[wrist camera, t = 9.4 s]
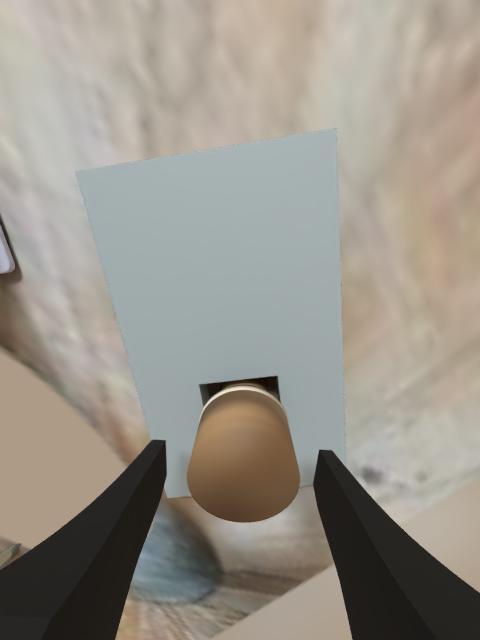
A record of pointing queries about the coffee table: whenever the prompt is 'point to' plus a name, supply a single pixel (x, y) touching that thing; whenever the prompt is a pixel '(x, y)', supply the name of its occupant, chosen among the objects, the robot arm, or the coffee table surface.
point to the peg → (243, 454)
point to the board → (227, 284)
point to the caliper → (8, 555)
